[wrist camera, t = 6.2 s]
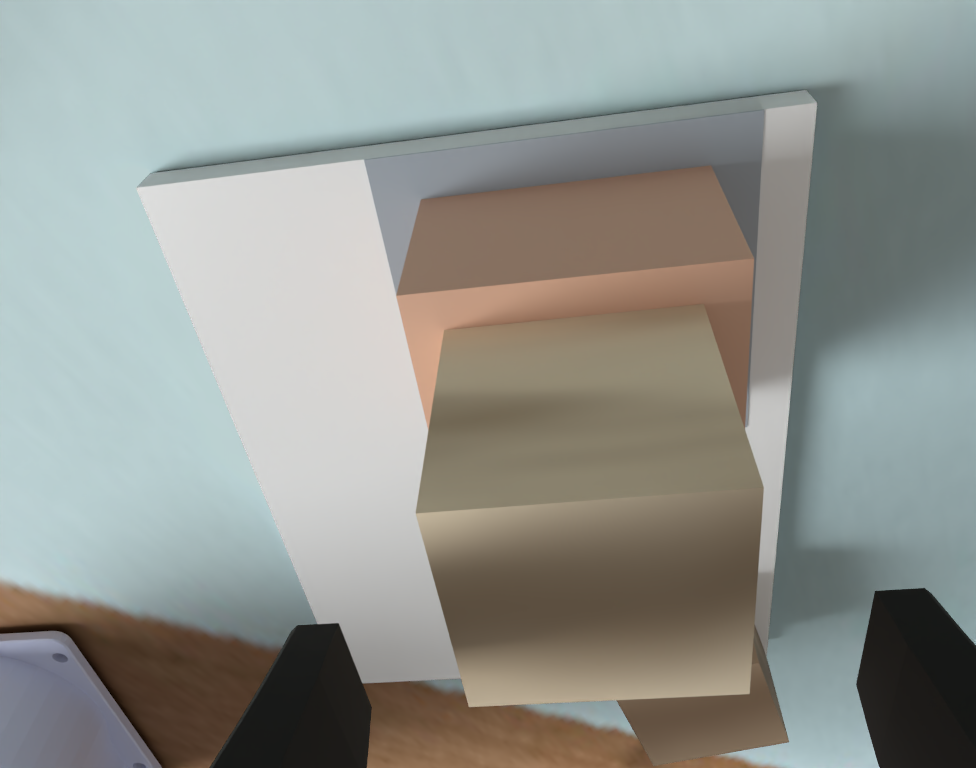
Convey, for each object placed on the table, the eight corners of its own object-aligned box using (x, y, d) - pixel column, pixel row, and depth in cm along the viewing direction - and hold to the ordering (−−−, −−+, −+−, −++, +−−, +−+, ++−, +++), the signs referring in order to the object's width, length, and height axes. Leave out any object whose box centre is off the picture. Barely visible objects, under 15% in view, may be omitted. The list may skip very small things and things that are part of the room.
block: (765, 652, 26) (789, 742, 24) (642, 678, 27) (653, 765, 25) (735, 573, 24) (759, 662, 22) (604, 604, 25) (612, 692, 23)
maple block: (701, 494, 17) (749, 693, 13) (481, 511, 17) (469, 706, 14) (703, 303, 14) (764, 486, 10) (443, 330, 15) (414, 513, 11)
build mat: (760, 642, 27) (766, 664, 26) (346, 663, 29) (342, 685, 28) (806, 90, 17) (818, 103, 16) (149, 173, 18) (135, 188, 18)
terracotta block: (707, 399, 20) (740, 516, 17) (465, 419, 21) (453, 536, 18) (710, 165, 17) (753, 258, 14) (420, 199, 17) (396, 295, 14)
